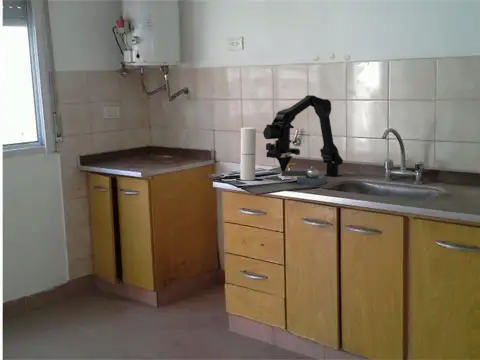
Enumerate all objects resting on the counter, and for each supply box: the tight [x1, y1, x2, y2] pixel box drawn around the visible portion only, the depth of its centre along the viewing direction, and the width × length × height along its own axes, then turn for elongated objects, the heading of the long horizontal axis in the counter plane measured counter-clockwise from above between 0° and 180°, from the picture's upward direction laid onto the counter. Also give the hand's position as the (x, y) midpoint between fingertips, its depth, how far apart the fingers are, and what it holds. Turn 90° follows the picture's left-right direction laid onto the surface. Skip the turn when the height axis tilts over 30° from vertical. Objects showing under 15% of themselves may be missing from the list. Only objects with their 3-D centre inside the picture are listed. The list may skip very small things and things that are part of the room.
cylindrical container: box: [240, 126, 257, 181], centre depth 279 cm, size 7×7×25 cm
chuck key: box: [286, 162, 297, 170], centre depth 292 cm, size 6×3×6 cm, turn 137°
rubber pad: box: [264, 174, 282, 182], centre depth 284 cm, size 10×10×1 cm
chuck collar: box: [280, 166, 320, 177], centre depth 270 cm, size 18×6×5 cm, turn 94°
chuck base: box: [296, 175, 328, 187], centre depth 272 cm, size 10×10×3 cm
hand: (283, 171), depth 272 cm, fingers closed
